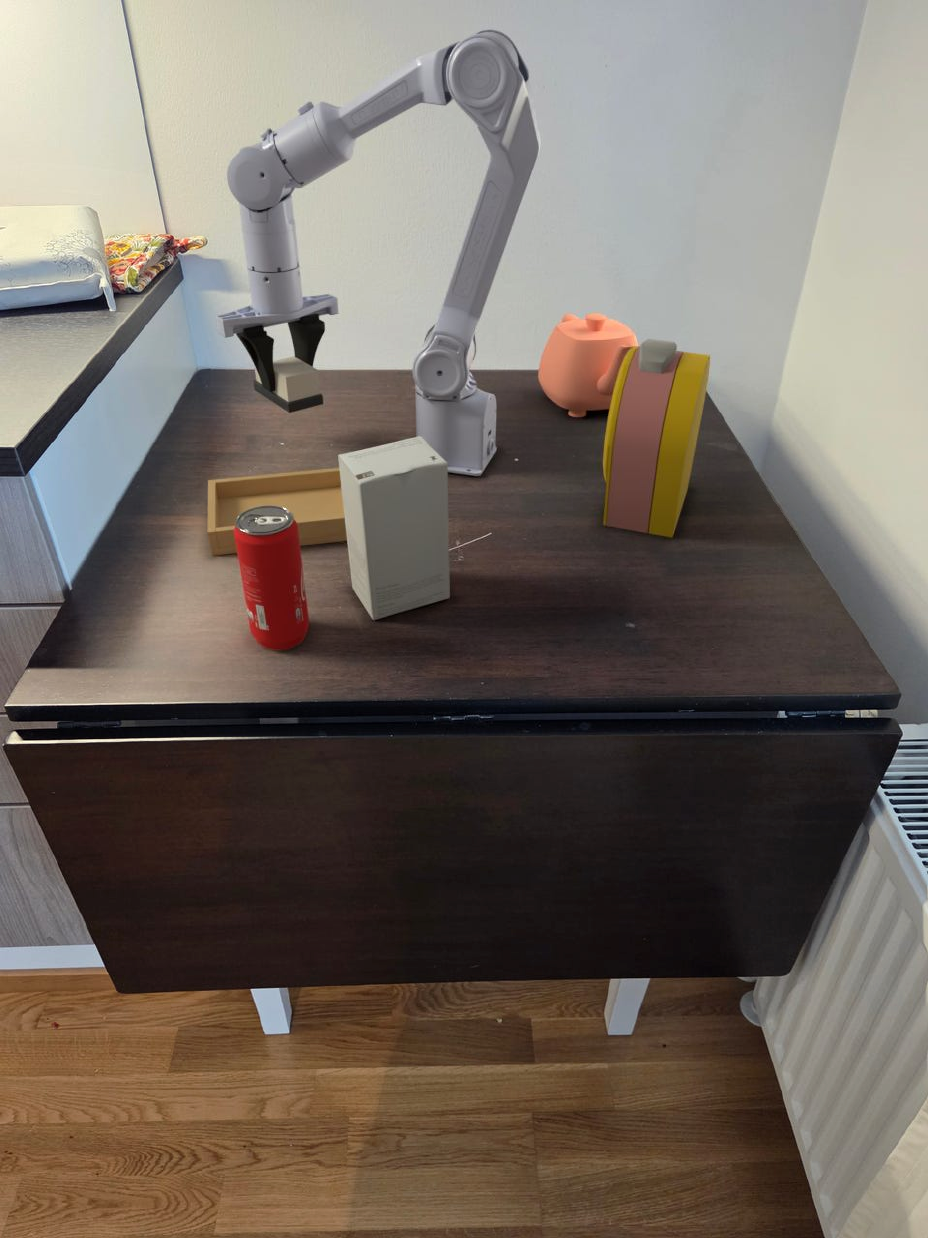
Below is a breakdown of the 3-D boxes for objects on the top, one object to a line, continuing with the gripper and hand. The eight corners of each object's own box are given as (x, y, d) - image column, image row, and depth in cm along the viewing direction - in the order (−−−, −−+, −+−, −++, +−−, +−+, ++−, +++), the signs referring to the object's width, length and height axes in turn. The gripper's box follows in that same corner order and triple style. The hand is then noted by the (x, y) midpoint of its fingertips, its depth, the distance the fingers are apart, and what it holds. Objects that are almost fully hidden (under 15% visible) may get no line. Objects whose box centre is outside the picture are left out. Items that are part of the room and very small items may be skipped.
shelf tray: (350, 488, 101) (348, 466, 100) (363, 539, 92) (362, 515, 90) (212, 502, 98) (207, 479, 97) (211, 555, 89) (207, 532, 88)
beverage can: (255, 619, 80) (236, 504, 73) (312, 617, 81) (298, 502, 74) (248, 654, 76) (228, 536, 69) (308, 652, 76) (294, 534, 69)
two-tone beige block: (323, 404, 104) (320, 369, 101) (289, 413, 102) (285, 378, 99) (287, 381, 110) (283, 348, 107) (254, 389, 107) (249, 356, 105)
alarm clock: (620, 472, 105) (640, 318, 94) (689, 483, 103) (717, 327, 92) (592, 531, 94) (611, 364, 83) (669, 545, 91) (699, 375, 81)
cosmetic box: (426, 570, 87) (424, 432, 78) (452, 602, 83) (452, 459, 74) (347, 591, 84) (335, 449, 75) (369, 625, 80) (359, 478, 71)
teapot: (575, 440, 112) (584, 346, 105) (519, 384, 128) (523, 299, 120) (667, 427, 116) (681, 336, 108) (602, 374, 131) (610, 291, 124)
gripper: (312, 249, 103) (323, 361, 111) (196, 268, 96) (216, 387, 104) (343, 261, 98) (352, 378, 106) (224, 282, 91) (243, 406, 99)
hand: (287, 384), depth 105 cm, fingers closed on two-tone beige block, 4 cm apart
